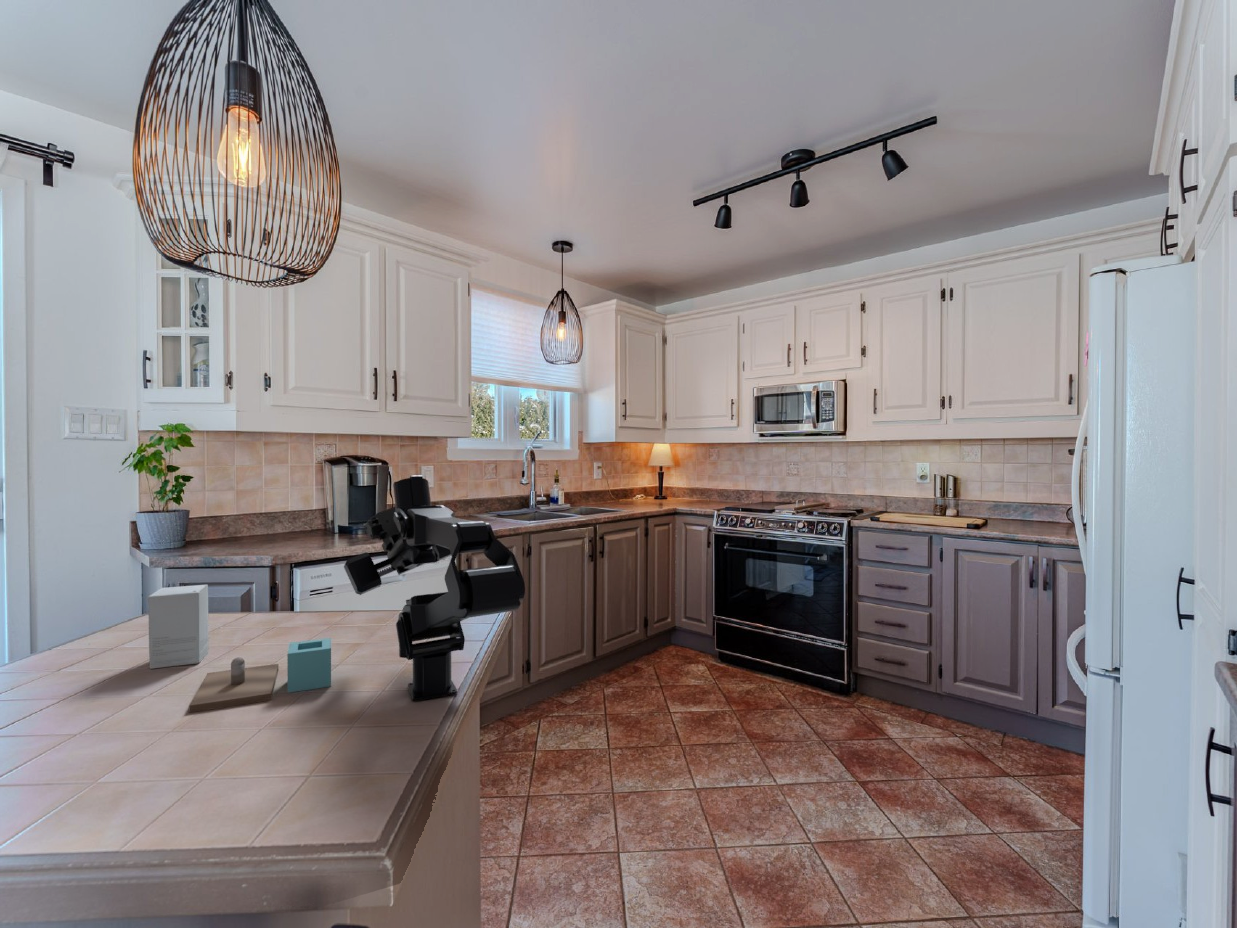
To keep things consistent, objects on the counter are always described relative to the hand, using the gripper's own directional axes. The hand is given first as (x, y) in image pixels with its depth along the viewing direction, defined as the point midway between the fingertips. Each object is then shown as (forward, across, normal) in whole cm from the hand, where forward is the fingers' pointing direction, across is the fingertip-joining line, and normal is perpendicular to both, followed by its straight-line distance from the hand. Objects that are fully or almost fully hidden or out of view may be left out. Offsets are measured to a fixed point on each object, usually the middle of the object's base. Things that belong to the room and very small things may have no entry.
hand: (392, 569), depth 111 cm
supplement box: (+19, +34, -3) cm, 39 cm away
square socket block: (-4, +20, +12) cm, 24 cm away
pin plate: (-1, +29, +8) cm, 30 cm away
